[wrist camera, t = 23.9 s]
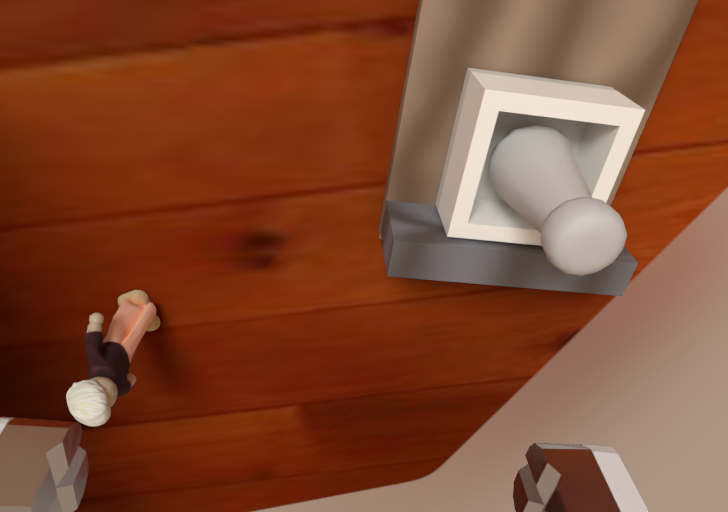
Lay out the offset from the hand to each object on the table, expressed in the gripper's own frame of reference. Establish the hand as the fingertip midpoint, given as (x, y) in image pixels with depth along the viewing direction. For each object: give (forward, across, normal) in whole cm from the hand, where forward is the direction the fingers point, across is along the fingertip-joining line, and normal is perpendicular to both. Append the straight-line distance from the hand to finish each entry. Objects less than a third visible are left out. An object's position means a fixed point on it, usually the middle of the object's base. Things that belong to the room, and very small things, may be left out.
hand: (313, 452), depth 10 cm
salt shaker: (+30, -15, +5) cm, 34 cm away
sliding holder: (+31, -15, +5) cm, 35 cm away
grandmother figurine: (+33, +14, +24) cm, 43 cm away
